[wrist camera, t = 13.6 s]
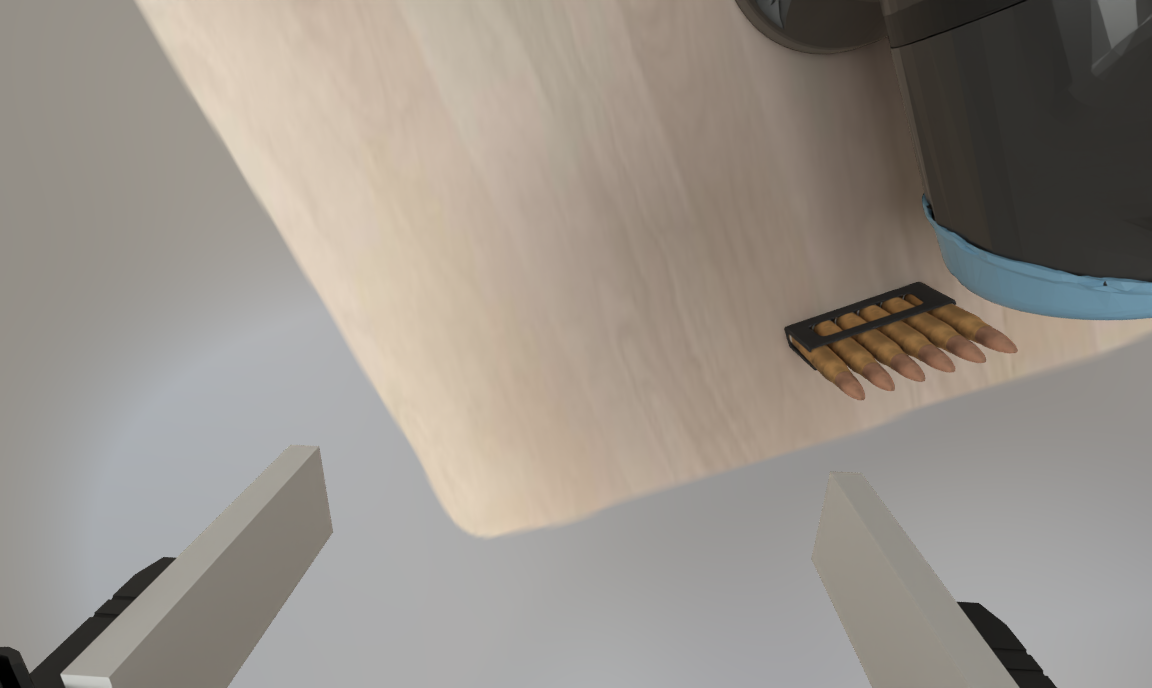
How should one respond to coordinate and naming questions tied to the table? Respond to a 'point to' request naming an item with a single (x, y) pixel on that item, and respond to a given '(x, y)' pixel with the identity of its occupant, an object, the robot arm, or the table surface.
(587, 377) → the table surface
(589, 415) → the table surface
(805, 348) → the ammunition clip
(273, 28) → the table surface
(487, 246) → the table surface
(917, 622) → the robot arm
